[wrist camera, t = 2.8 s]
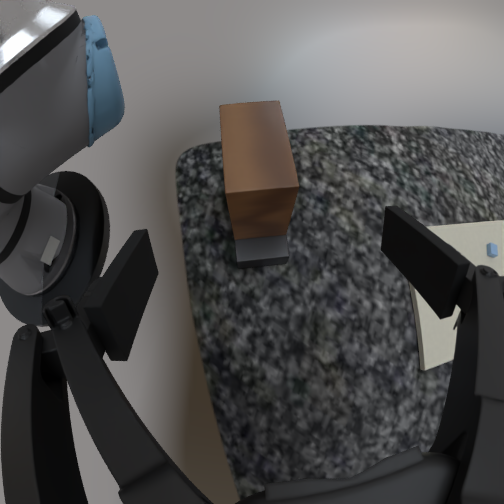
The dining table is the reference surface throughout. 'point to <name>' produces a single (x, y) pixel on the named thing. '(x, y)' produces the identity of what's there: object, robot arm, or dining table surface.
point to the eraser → (258, 181)
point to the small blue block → (492, 250)
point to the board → (441, 331)
